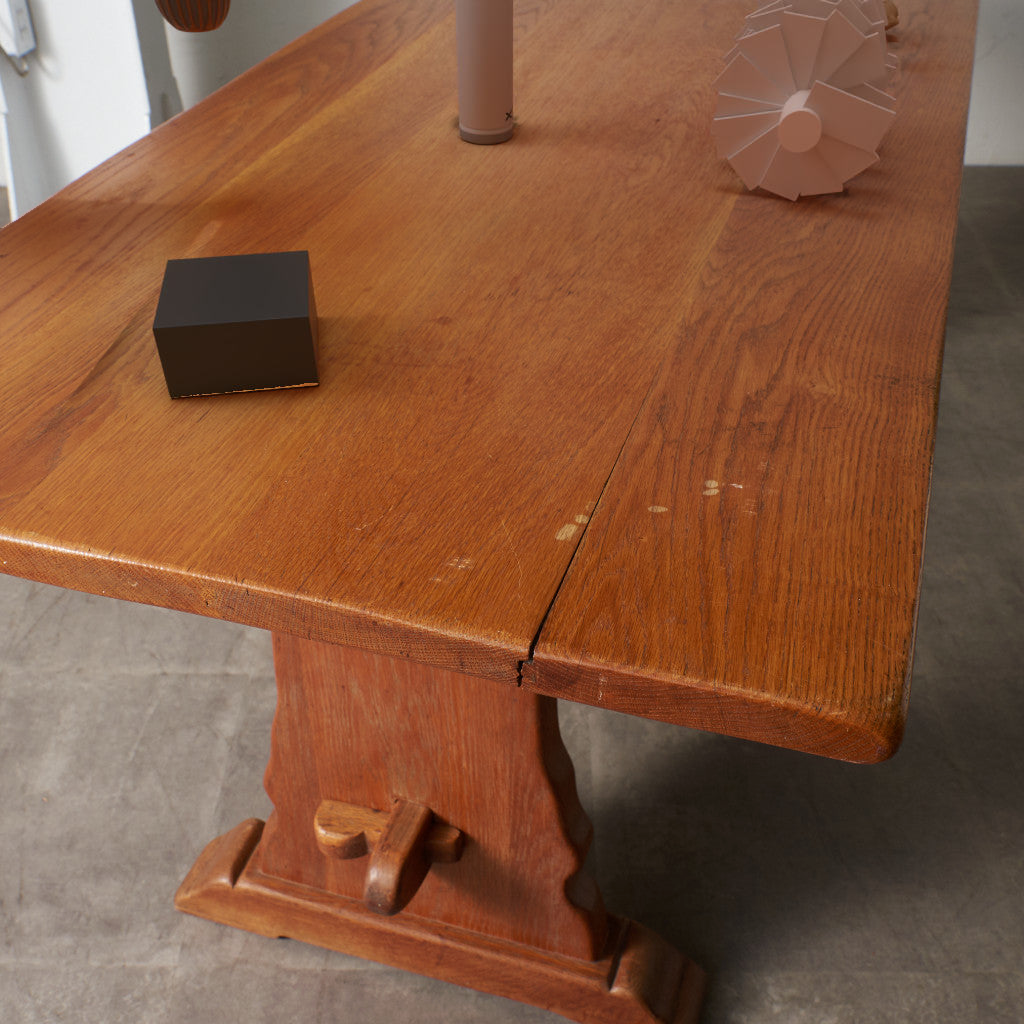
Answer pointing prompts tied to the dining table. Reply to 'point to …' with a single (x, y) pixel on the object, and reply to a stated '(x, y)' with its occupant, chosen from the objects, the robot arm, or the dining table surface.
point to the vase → (194, 14)
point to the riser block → (237, 323)
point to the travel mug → (485, 70)
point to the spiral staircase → (805, 95)
